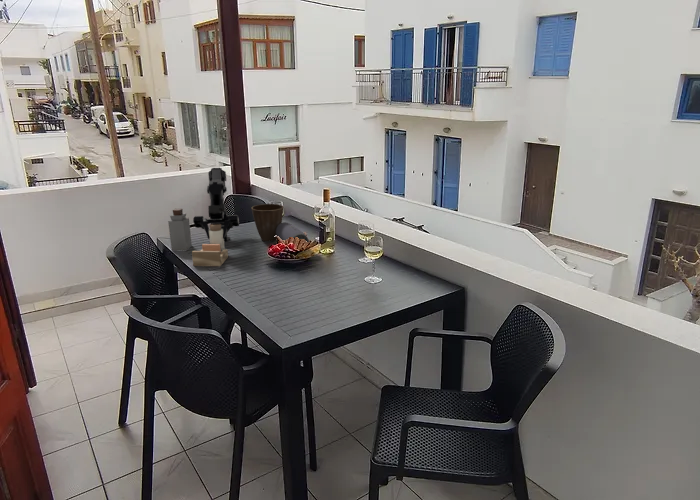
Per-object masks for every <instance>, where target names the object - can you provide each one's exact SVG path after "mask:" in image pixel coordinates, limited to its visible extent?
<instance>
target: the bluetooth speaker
mask: <svg viewBox="0 0 700 500" xmlns="http://www.w3.org/2000/svg"><path fill="white" fill-rule="evenodd" d="M276 235H277V236H279V237H280V238H281V239H282V240H286V239H288V238H289V237H293V238H295V237H298V238H299V239H305V240H306V241H307V242H309V243H310V240H309V238H308V236H307V235H306V234H305V233H304V232H303V231H302V230H301V229H299V228H298V227H297V226H295V225H292V224H291V223H289V222H286V221H285V222H284V221H282V223H280V224H279V225H278V226H277V228H276Z"/></svg>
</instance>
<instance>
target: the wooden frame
mask: <svg viewBox="0 0 700 500" xmlns="http://www.w3.org/2000/svg"><path fill="white" fill-rule="evenodd" d="M191 254H192V255H191V257H192V265H193V267H222V265H223V264H224V263H225V262H226V261H227V259H228V258H229V250H228V249H227V248H225V249H224V250H223V251H222V252H221V253H220V251H203V249H202V248H201V250H192V251H191Z"/></svg>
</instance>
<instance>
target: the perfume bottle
mask: <svg viewBox="0 0 700 500" xmlns="http://www.w3.org/2000/svg"><path fill="white" fill-rule="evenodd" d="M183 209H184V208H174V209H172V214H170V215H169V218H170V219H169V220H168V221H167V222H168V230H169V239H170V248H171V251H177V250H180V251H181V250H182V251H183V250H184V251H188V250H189V249H191V248H192V247H193V246H192V245H193V243H192V242H193V241H192V237H191V225H190V224H191V223H190V218H189V217H187V212H183Z"/></svg>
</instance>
